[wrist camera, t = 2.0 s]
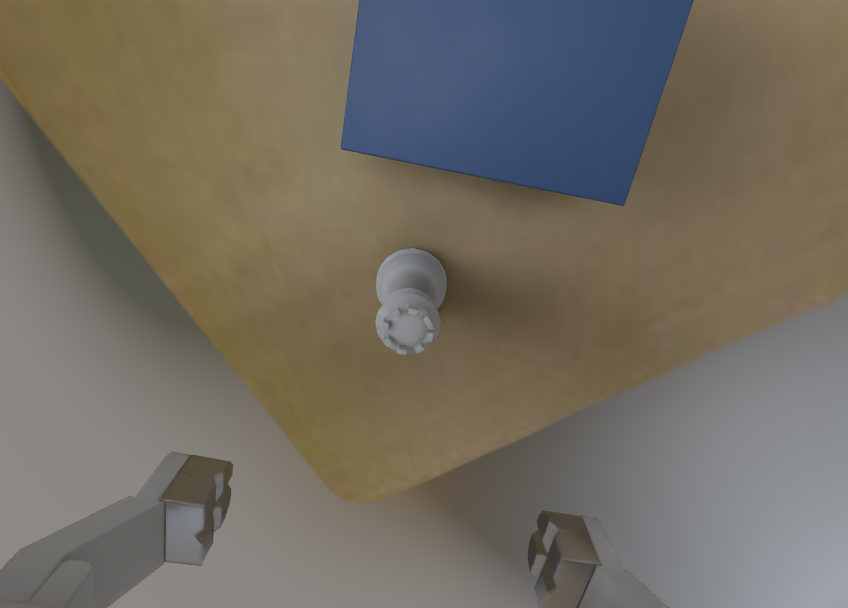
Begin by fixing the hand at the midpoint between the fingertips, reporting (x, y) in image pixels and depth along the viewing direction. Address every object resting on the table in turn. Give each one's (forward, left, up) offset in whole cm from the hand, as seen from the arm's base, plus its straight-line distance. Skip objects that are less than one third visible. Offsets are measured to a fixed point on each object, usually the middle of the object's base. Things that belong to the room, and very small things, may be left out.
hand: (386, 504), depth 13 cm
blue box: (-2, -13, -19) cm, 23 cm away
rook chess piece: (0, 0, -20) cm, 20 cm away
